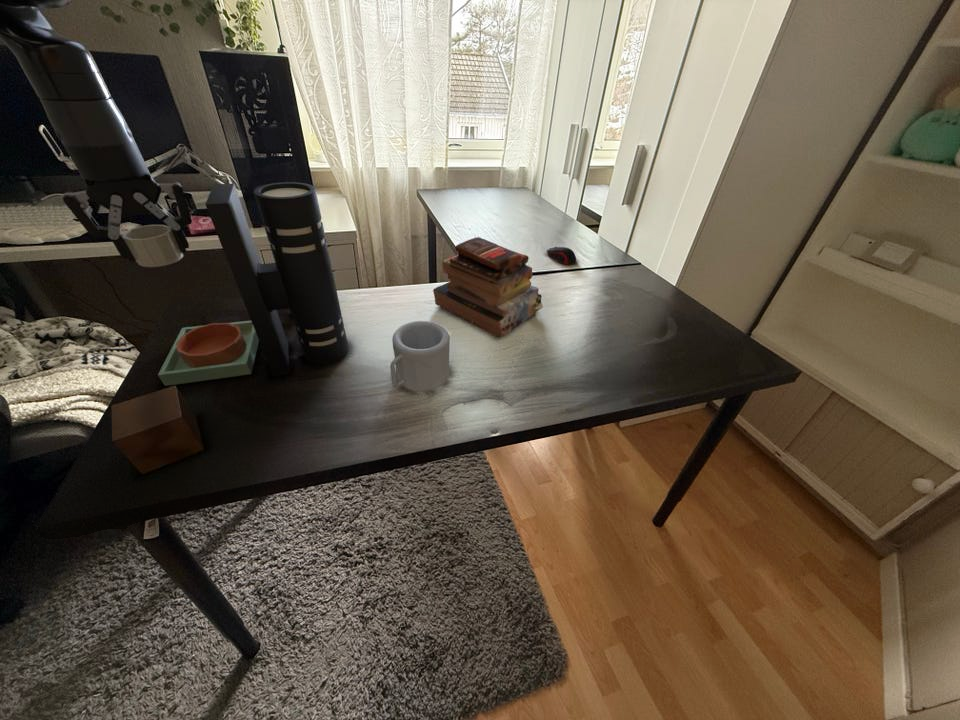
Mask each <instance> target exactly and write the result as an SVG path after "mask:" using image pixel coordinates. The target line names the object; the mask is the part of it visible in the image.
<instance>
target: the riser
mask: <svg viewBox="0 0 960 720" xmlns="http://www.w3.org/2000/svg"><path fill="white" fill-rule="evenodd" d="M111 441H112V442H113V444H114V445H115V446H116V447H117V448H118V449H119V450H120V451H121V453H122V454H123V455H124V456H125V457H126V459H128V460H129V461H130V463H131V464H132V465H133V466H134V468H136V469H137V471H139V473H140V474H141V475H145V474H147V473H150V472H152V471H155V470H157V469H160V468H163V467H165V466H167V465H170V464H172V463H175V462H178V461H180V460H182V459H185V458H187V457H189V456H192V455H195V454H197V453H199V452H202V451H204V450H205V449H204V444H203V440H202V436H201V432H200V428H199V424H198V420H197V417H196V415H195V414H194V412H193V411H192V410H191V408H190V406H189V404H188V403H187V401H186V400H185V398H184V397H183V395H182V393H181V392H180V390H179V388H178V387H177V386H176V385H171V386H168V387H166V388H162V389H160V390H156V391H154V392H151V393H146V394H144V395H140V396H137V397H134V398H132V399H128V400H125V401H122V402H119V403H116V404H113V405H111Z"/></svg>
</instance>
